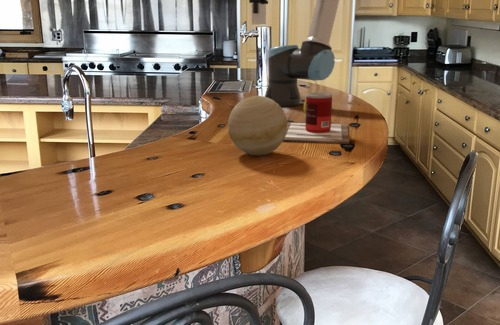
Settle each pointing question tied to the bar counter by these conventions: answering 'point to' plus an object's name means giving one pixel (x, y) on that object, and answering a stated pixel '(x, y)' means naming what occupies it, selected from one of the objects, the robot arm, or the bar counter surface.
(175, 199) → the bar counter surface
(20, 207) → the bar counter surface
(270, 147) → the decorative ball
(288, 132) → the clipboard
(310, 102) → the canned food
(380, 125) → the bar counter surface
